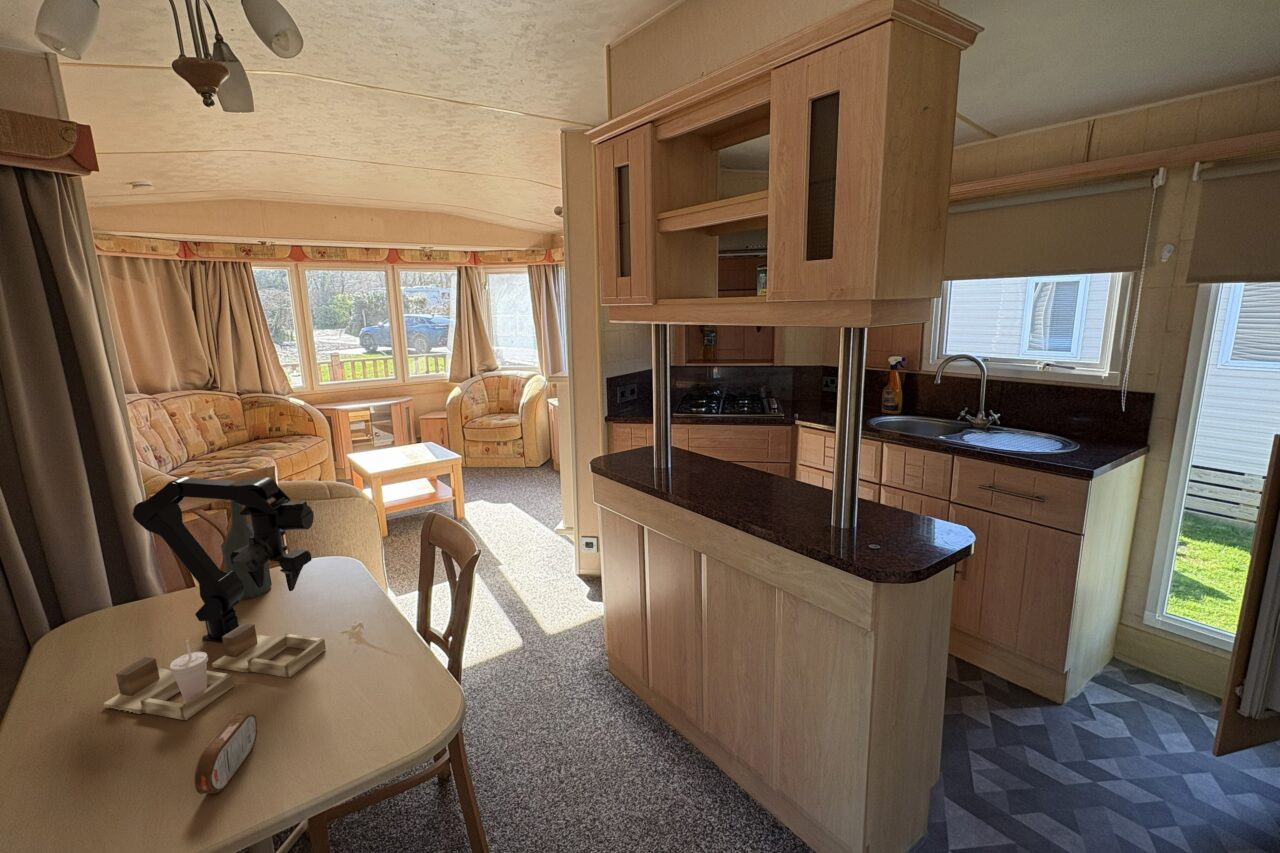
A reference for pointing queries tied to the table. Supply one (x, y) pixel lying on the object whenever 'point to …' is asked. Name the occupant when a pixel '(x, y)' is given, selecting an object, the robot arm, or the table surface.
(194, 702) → the cream rimmed tray
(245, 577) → the bottle
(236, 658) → the hollow rectangular frame
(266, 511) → the robot arm
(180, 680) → the smoothie
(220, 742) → the tin
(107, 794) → the table surface
